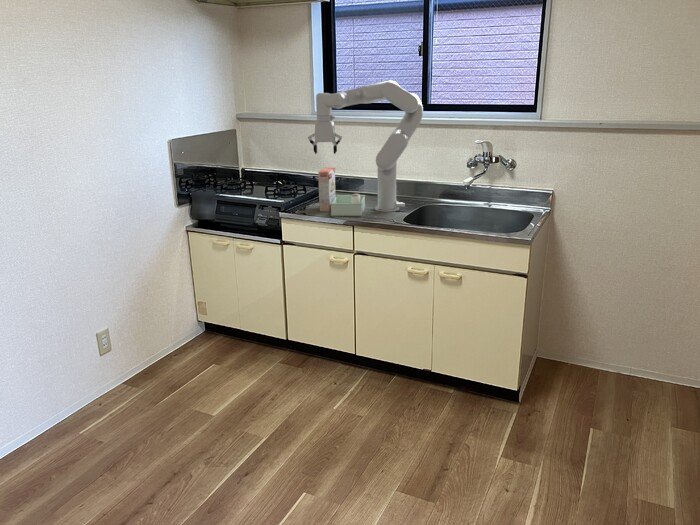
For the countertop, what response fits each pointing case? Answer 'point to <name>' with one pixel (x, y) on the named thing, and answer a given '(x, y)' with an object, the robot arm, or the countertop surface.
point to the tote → (347, 206)
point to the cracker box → (326, 188)
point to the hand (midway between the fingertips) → (325, 153)
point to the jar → (355, 198)
